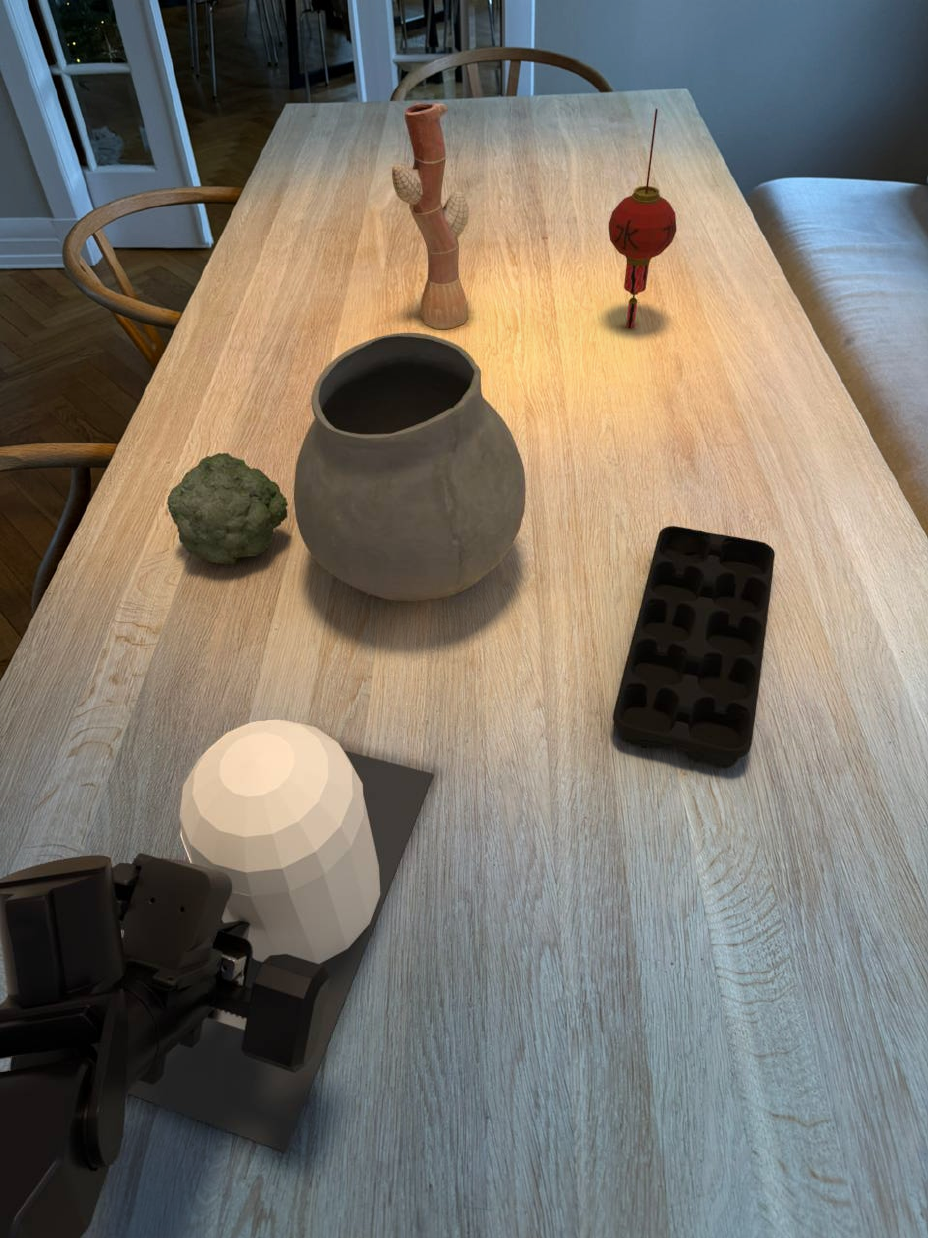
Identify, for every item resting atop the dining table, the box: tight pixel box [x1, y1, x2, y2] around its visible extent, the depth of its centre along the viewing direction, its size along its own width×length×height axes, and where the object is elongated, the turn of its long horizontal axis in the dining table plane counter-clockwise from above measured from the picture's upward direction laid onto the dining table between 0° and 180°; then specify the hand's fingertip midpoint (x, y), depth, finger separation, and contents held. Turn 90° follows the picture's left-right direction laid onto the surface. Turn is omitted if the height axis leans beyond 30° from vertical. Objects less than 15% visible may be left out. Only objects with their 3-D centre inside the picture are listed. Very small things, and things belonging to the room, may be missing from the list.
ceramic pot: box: [293, 332, 527, 602], centre depth 91 cm, size 24×24×25 cm
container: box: [179, 718, 380, 964], centre depth 67 cm, size 14×13×20 cm
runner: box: [126, 749, 435, 1154], centre depth 73 cm, size 32×16×1 cm, turn 162°
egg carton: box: [612, 525, 776, 769], centre depth 89 cm, size 18×30×4 cm, turn 174°
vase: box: [391, 102, 469, 330], centre depth 125 cm, size 10×7×30 cm
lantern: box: [608, 108, 677, 330], centre depth 122 cm, size 10×10×30 cm
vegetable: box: [166, 452, 289, 565], centre depth 101 cm, size 12×13×15 cm
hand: (244, 928), depth 65 cm, fingers closed, pressing on container
